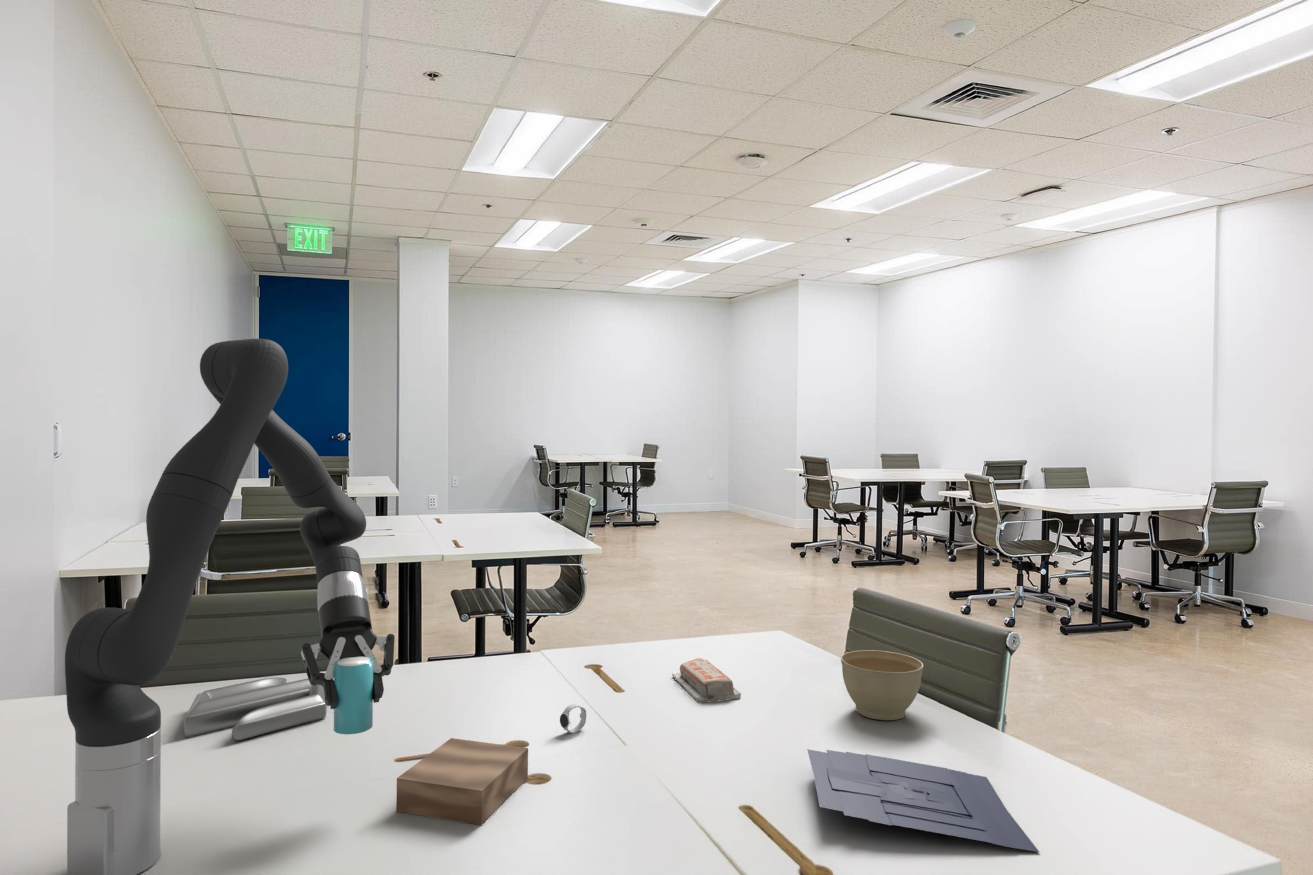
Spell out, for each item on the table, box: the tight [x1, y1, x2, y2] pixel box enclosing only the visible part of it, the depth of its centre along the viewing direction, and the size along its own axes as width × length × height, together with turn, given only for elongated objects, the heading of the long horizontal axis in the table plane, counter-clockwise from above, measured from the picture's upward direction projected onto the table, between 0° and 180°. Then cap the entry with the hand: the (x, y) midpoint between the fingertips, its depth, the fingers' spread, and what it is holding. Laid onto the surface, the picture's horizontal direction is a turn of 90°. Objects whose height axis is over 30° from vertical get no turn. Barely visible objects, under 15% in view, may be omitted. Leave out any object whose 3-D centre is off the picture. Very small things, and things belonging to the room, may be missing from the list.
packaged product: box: [671, 657, 742, 703], centre depth 179 cm, size 18×5×10 cm
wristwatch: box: [559, 703, 587, 734], centre depth 152 cm, size 3×5×5 cm, turn 135°
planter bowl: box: [840, 649, 924, 721], centre depth 164 cm, size 16×16×11 cm
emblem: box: [183, 676, 328, 741], centre depth 158 cm, size 28×5×28 cm
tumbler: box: [333, 656, 374, 735], centre depth 121 cm, size 6×6×10 cm
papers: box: [807, 748, 1040, 853], centre depth 124 cm, size 24×30×4 cm
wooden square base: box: [395, 737, 529, 826], centre depth 126 cm, size 16×14×5 cm
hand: (356, 702), depth 120 cm, fingers closed on tumbler, 5 cm apart
